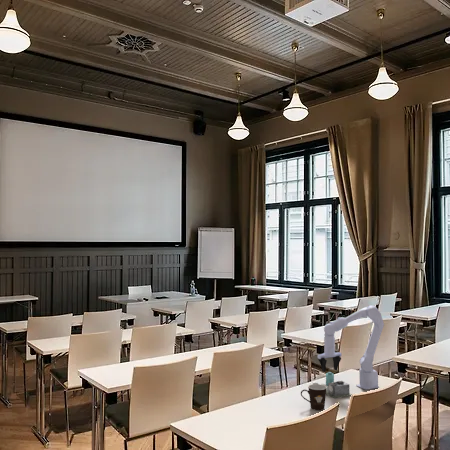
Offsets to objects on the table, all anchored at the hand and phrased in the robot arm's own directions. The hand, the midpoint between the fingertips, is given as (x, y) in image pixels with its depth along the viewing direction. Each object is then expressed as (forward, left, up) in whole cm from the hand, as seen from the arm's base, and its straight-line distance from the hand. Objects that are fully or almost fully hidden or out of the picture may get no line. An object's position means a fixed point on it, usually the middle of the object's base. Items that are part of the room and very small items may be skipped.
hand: (329, 370), depth 265 cm
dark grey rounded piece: (+8, -2, -8) cm, 11 cm away
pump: (0, 0, -8) cm, 8 cm away
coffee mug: (+27, +26, -8) cm, 38 cm away
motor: (+5, +12, -8) cm, 15 cm away
